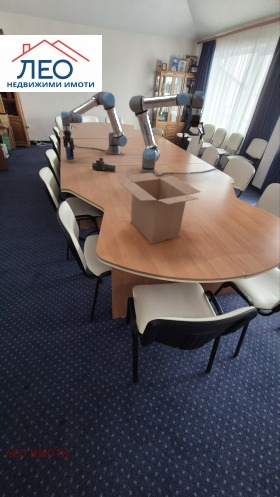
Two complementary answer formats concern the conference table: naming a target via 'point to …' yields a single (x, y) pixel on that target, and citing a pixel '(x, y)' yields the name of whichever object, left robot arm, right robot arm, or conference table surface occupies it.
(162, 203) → the box
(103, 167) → the laser sight
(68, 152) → the canister
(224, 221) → the conference table surface
